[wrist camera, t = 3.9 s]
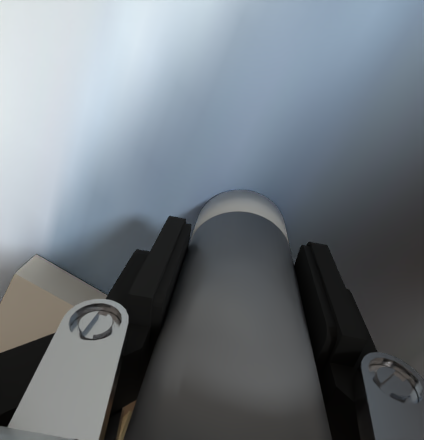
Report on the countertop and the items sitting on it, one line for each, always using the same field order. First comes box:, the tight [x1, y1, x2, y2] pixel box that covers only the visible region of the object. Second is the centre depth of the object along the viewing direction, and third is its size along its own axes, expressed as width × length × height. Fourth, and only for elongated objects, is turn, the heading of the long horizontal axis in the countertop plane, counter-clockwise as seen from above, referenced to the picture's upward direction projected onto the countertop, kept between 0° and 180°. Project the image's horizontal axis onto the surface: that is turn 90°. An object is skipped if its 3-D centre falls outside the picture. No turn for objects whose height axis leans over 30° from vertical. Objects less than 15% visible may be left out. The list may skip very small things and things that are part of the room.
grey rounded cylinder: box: [123, 190, 332, 440], centre depth 8 cm, size 4×4×10 cm
